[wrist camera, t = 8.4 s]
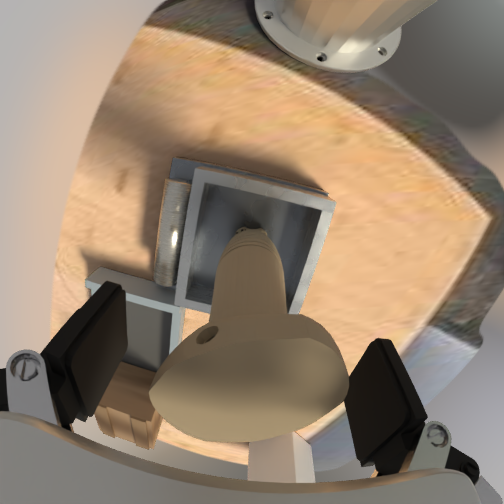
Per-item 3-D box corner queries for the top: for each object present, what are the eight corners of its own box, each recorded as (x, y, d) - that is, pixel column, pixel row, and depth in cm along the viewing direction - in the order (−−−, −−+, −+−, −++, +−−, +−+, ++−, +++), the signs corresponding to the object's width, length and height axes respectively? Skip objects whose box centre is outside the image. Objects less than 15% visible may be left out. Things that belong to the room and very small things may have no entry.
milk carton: (248, 439, 34) (243, 550, 17) (291, 427, 33) (299, 546, 15) (271, 455, 36) (272, 552, 19) (310, 444, 35) (321, 546, 17)
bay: (100, 266, 24) (85, 279, 22) (187, 290, 25) (180, 307, 22) (112, 390, 32) (105, 405, 29) (175, 410, 32) (170, 427, 29)
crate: (112, 358, 28) (88, 401, 21) (167, 375, 29) (150, 424, 22) (118, 392, 31) (99, 431, 24) (166, 407, 31) (152, 450, 24)
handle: (199, 236, 21) (121, 379, 7) (273, 198, 20) (318, 306, 6) (229, 285, 23) (205, 451, 9) (300, 252, 22) (362, 406, 8)
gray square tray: (178, 156, 21) (161, 159, 17) (324, 190, 21) (337, 199, 18) (161, 277, 25) (146, 299, 21) (287, 306, 25) (291, 332, 22)
